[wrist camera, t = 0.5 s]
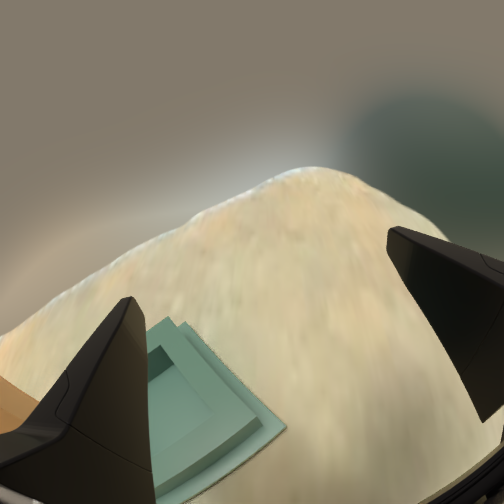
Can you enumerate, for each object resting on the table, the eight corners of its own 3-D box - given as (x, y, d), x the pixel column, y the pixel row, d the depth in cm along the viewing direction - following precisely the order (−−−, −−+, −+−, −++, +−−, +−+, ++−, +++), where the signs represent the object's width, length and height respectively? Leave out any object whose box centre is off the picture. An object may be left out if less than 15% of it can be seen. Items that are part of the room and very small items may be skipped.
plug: (86, 448, 18) (-13, 399, 10) (61, 475, 15) (-38, 436, 7) (62, 414, 20) (-24, 356, 12) (39, 441, 18) (-48, 391, 9)
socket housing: (286, 427, 19) (284, 416, 16) (153, 519, 13) (125, 521, 10) (188, 325, 27) (172, 299, 24) (84, 399, 22) (57, 381, 19)
